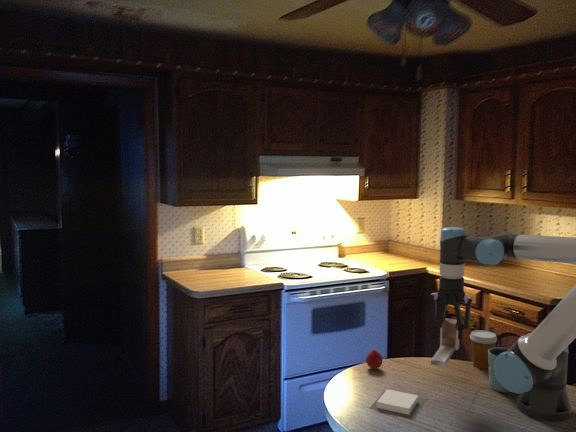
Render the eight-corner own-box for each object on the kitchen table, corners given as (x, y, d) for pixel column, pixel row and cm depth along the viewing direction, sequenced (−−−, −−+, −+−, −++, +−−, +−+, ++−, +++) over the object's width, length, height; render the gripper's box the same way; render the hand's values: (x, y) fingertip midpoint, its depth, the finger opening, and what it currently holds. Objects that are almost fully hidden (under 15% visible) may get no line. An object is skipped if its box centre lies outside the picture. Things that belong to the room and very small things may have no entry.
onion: (383, 367, 202) (383, 346, 201) (381, 373, 196) (381, 352, 195) (367, 366, 203) (367, 345, 203) (364, 372, 198) (365, 350, 197)
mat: (426, 400, 175) (426, 399, 175) (415, 419, 163) (415, 418, 163) (384, 391, 182) (384, 390, 182) (369, 409, 169) (369, 408, 169)
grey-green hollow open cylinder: (481, 386, 186) (482, 351, 184) (496, 378, 192) (497, 344, 191) (510, 396, 178) (511, 360, 177) (524, 387, 185) (526, 352, 183)
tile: (418, 395, 173) (409, 408, 164) (418, 402, 173) (409, 415, 165) (387, 389, 178) (377, 401, 169) (387, 395, 178) (376, 408, 169)
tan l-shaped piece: (457, 346, 179) (458, 319, 178) (444, 366, 163) (445, 337, 162) (444, 344, 181) (445, 318, 180) (430, 364, 165) (431, 335, 164)
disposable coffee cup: (469, 369, 200) (470, 337, 199) (467, 359, 209) (468, 329, 208) (497, 371, 198) (499, 339, 196) (494, 361, 207) (495, 330, 206)
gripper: (481, 276, 175) (479, 348, 177) (427, 271, 183) (425, 339, 185) (477, 281, 168) (475, 355, 171) (421, 275, 176) (420, 346, 179)
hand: (449, 347), depth 178 cm, fingers closed on tan l-shaped piece, 4 cm apart
